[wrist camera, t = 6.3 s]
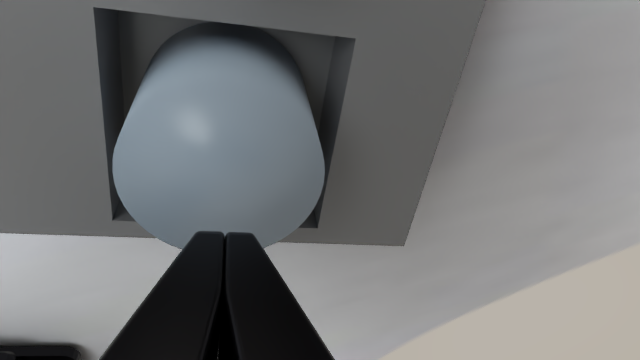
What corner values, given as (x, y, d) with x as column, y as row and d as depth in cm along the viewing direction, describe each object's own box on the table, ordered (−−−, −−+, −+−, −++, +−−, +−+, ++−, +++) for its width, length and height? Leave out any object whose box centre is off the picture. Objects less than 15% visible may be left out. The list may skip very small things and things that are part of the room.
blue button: (294, 172, 14) (308, 257, 11) (146, 163, 13) (119, 252, 10) (316, 31, 12) (341, 92, 9) (139, 10, 11) (104, 69, 8)
